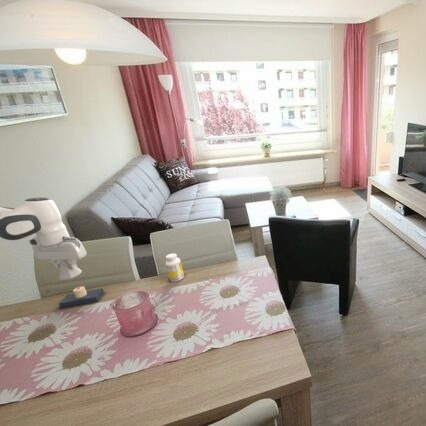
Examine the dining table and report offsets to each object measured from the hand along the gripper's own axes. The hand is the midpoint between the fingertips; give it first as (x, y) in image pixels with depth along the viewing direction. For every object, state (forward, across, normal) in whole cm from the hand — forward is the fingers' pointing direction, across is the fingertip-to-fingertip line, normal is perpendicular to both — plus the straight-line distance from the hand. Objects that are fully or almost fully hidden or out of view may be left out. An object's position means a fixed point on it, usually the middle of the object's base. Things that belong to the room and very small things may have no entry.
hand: (67, 268), depth 119 cm
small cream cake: (+17, +6, -5) cm, 18 cm away
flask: (+4, 0, 0) cm, 4 cm away
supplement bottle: (+21, -27, -25) cm, 42 cm away
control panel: (+20, +6, -5) cm, 21 cm away
